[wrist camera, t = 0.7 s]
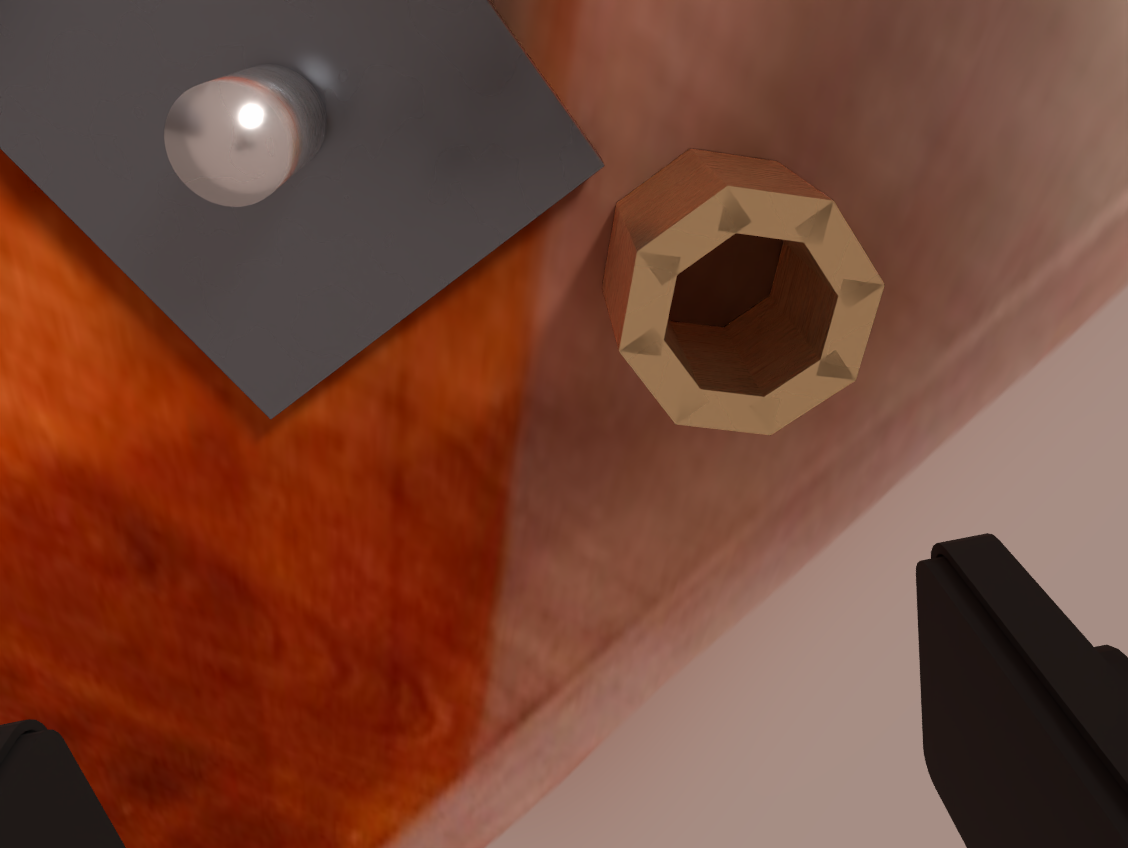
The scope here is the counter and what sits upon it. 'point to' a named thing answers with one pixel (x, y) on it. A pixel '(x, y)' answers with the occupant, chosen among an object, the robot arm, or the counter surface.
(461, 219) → the shaft block
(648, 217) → the hub ring
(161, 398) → the counter surface
